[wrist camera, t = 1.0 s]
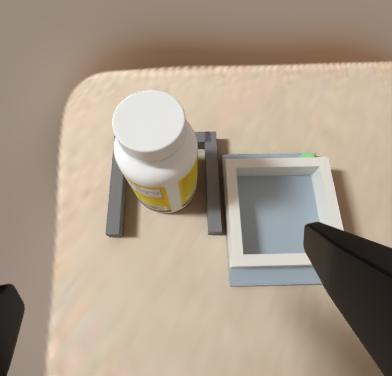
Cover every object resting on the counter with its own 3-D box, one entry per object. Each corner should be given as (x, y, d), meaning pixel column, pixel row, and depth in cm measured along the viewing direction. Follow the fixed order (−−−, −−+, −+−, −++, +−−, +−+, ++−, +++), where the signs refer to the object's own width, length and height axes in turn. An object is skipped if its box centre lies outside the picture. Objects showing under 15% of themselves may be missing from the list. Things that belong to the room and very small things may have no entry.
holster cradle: (220, 234, 22) (221, 231, 21) (110, 237, 22) (105, 234, 21) (215, 138, 25) (216, 131, 24) (118, 140, 25) (114, 133, 24)
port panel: (337, 283, 21) (355, 282, 19) (229, 286, 21) (234, 285, 19) (312, 156, 25) (324, 143, 23) (221, 157, 25) (224, 144, 22)
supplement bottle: (185, 149, 25) (181, 68, 16) (206, 202, 23) (214, 146, 14) (128, 167, 24) (88, 93, 15) (145, 223, 22) (112, 179, 13)
